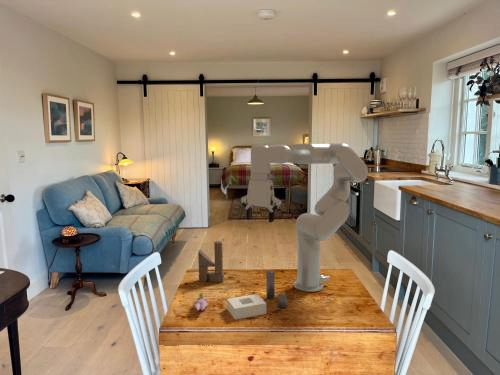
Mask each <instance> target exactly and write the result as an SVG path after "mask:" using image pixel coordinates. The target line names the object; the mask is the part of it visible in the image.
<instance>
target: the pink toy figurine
mask: <svg viewBox="0 0 500 375" xmlns="http://www.w3.org/2000/svg"><path fill="white" fill-rule="evenodd" d="M209 302H210V300H207V298H206V296H204V294H203V292H202V291H201V292H200V293H199V295H198V298H197V299H196V300H193V301H192V303H194V305H193V306H194V308H195V309H196V311H198V312H199V310H200V311H203V310H205V309H206V308H207V307H209Z"/></svg>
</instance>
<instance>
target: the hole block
mask: <svg viewBox="0 0 500 375" xmlns="http://www.w3.org/2000/svg"><path fill="white" fill-rule="evenodd" d="M226 309H227V311H228V312H229V314H230V315H231V316H232V318H233V319H234V320H240V319H244V318H251V317H256V316H261V315H266V314H267V302H266V301H264V299H263V298H262V297H261V296H260V295H259V294H258V293H255V294H247V295H244V296H243V295H242V296H237V297H231V298H230V297H229V298H226Z"/></svg>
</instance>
